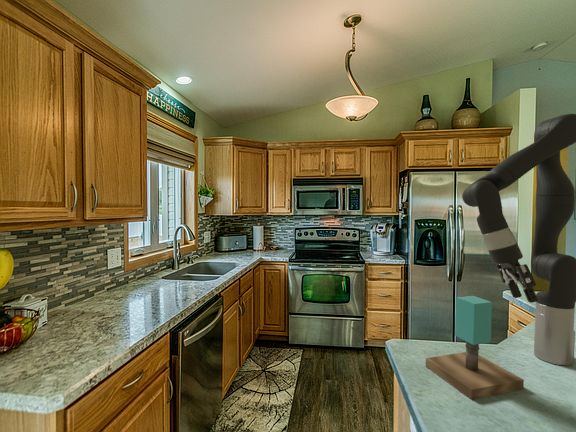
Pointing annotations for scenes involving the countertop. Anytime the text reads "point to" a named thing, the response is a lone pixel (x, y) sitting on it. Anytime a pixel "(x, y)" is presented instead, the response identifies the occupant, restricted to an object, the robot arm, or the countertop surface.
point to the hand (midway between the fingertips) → (525, 299)
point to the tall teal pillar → (473, 319)
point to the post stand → (474, 373)
